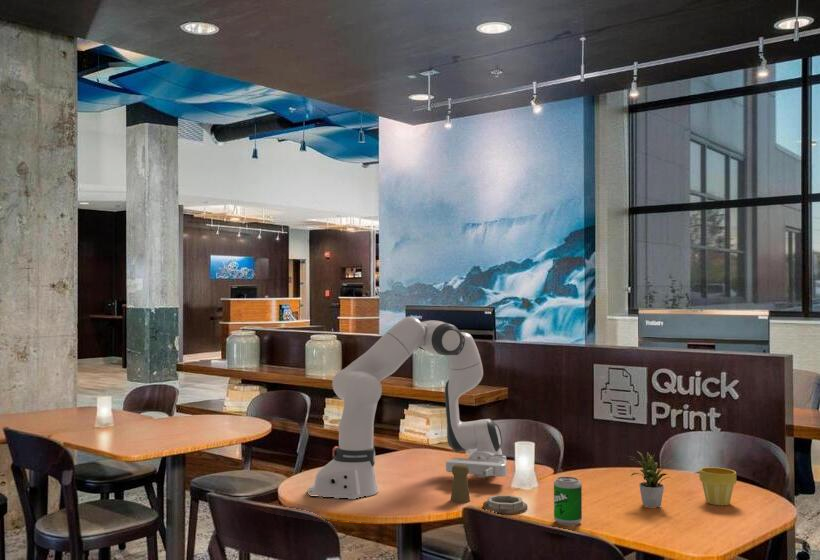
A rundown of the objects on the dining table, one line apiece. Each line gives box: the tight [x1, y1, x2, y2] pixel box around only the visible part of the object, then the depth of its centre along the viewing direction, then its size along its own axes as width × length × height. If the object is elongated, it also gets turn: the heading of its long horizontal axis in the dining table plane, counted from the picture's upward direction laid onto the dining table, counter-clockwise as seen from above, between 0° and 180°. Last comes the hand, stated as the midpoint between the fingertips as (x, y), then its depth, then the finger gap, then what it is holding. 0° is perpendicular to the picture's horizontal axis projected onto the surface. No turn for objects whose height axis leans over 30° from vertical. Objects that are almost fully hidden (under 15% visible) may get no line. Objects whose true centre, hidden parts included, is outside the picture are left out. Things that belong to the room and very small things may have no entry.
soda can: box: [553, 476, 583, 527], centre depth 211 cm, size 8×8×12 cm
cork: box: [450, 464, 471, 504], centre depth 234 cm, size 6×6×11 cm
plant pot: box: [698, 466, 737, 507], centre depth 231 cm, size 10×10×10 cm
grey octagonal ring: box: [482, 494, 528, 515], centre depth 225 cm, size 13×13×2 cm
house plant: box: [625, 451, 674, 508], centre depth 229 cm, size 14×14×16 cm
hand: (470, 472), depth 245 cm, fingers open, 8 cm apart
